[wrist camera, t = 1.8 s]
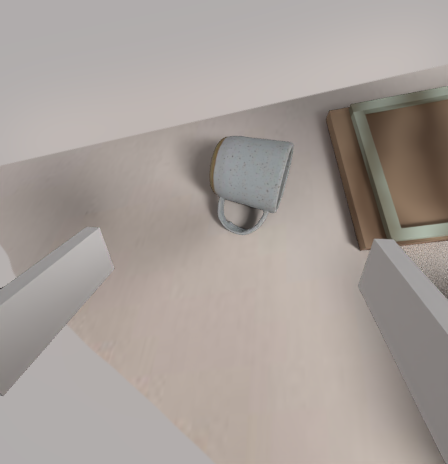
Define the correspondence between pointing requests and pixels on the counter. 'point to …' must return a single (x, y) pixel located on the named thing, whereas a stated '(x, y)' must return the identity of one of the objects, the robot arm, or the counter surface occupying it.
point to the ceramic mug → (250, 175)
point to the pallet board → (395, 166)
